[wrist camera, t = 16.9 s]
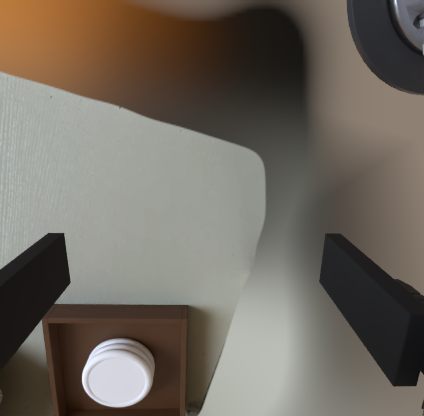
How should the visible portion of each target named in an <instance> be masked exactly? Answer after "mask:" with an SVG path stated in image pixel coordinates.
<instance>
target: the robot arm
mask: <svg viewBox="0 0 424 416" xmlns="http://www.w3.org/2000/svg"><path fill="white" fill-rule="evenodd" d="M387 7H388V13H389V17H390V20H391V23H392V26H393V28H394V30H395V32H396V34H397V35H398V37H399V38H400V40H401V41H402V42H403V43H404V44H405V45H406V46H407V47H408V48H409V49H411V50H412V51H414V52H415V53H417V54H419V55H421V56H424V0H387ZM319 282H320V283H321V285H322V286H323V288H324V289H325V290H326V292H327V293H328V295H329V296H330V297H331V299H332V300H333V302H334V303H335V304H336V306H337V307H338V309H339V310H340V312H341V313H342V314H343V316H344V317H345V319H346V320H347V321H348V323H349V324H350V326H351V327H352V329H353V330H354V331H355V333H356V334H357V336H358V337H359V338H360V340H361V341H362V343H363V344H364V346H365V347H366V348H367V350H368V351H369V353H370V354H371V355H372V357H373V358H374V360H375V361H376V362H377V364H378V365H379V367H380V368H381V370H382V371H383V372H384V374H385V375H386V377H387V378H388V379H389V381H390V382H391V384H392V385H393V386H416V385H417V381H418V377H419V373H420V371H421V372H422V373H423V374H424V296H423V295H421V294H420V293H419V292H418V291H417V290H415V289H414V288H413V287H412V286H410V285H408V284H406V283H404V282H402V281H401V280H399V279H393V278H392V277H391V276H390V275H388V274H387V273H386V272H385V271H383V270H382V269H381V268H380V267H379V266H378V265H377V264H375V263H374V262H373V261H372V260H371V259H370V258H368V257H367V256H366V255H365V254H364V253H362V252H361V251H360V250H359V249H358V248H357V247H355V246H354V245H353V244H352V243H350V241H348V240H347V239H346V238H345V237H344V236H343V235H341V234H326V235H325V242H324V250H323V257H322V265H321V273H320V281H319ZM70 283H71V282H70V275H69V267H68V260H67V252H66V245H65V237H64V233H48V234H46V235H45V236H44V237H43V238H41V239H40V240H39V241H37V242H36V243H35V244H33V245H32V246H31V247H29V248H28V249H27V250H25V251H24V252H23V253H22V254H20V255H19V256H18V257H16V258H15V259H14V260H12V261H11V262H10V263H8V264H7V265H6V266H4V267H3V268H2V269H1V270H0V371H1V370H2V369H3V368H4V366H5V365H6V364H7V363H8V361H9V360H10V359H11V357H12V356H13V355H14V354H15V352H16V351H17V350H18V349H19V347H20V346H21V345H22V344H23V342H24V341H25V340H26V338H27V337H28V336H29V335H30V333H31V332H32V331H33V330H34V328H35V327H36V326H37V325H38V323H39V322H40V321H41V319H42V318H43V317H44V316H45V314H46V313H47V312H48V311H49V309H50V308H51V307H52V306H53V304H54V303H55V302H56V300H57V299H58V298H59V297H60V295H61V294H62V293H63V292H64V290H65V289H66V288H67V287H68V285H69V284H70ZM422 409H424V401H423V404H422ZM423 416H424V410H423Z"/></svg>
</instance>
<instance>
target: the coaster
mask: <svg viewBox="0 0 424 416" xmlns="http://www.w3.org/2000/svg"><path fill="white" fill-rule="evenodd" d="M154 370H155V363H154V359H153V356H152V354H151V353H150V351H149V350H148V349H147V348H146V347H145V346H144V345H142V344H141V343H139V342H137V341H134V340H131V339H127V338H114V339H109V340H107V341H104V342H102V343H101V344H99V345H98V346H97V347H96V348H95V349H94V350H93V351H92V352H91V354H90V356H89V358H88V360H87V363H86V365H85V367H84V369H83V373H82V384H83V387H84V389H85V391H86V393H87V394H88V395H89V396H90V397H91V398H92V399H94V400H95V401H96V402H98V403H100V404H103V405H105V406H109V407H126V406H130V405H133V404H136V403H138V402H139V401H141V400H142V399H143V398H144V397H145V396H146V395H147V394H148V392H149V391H150V389H151V386H152V383H153V376H154Z"/></svg>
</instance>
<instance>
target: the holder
mask: <svg viewBox="0 0 424 416" xmlns="http://www.w3.org/2000/svg"><path fill="white" fill-rule="evenodd" d="M42 325H43V333H44V341H45V349H46V357H47V364H48V372H49V380H50V388H51V396H52V404H53V411H54V416H185V400H186V363H187V326H188V305H71V304H53V306H52V307H51V308H50V309H49V311H48V312H47V313H46V314H45V316H44V317H43V318H42ZM114 338H127V339H131V340H134V341H137V342H139V343H141V344H142V345H144V346H145V347H146V348H147V349H148V350H149V351H150V353H151V354H152V356H153V359H154V363H155V370H154V376H153V383H152V386H151V389H150V391H149V392H148V394H147V395H146V396H145V397H144V398H143V399H142V400H141V401H139V402H138V403H136V404H133V405H130V406H126V407H109V406H105V405H103V404H100V403H98V402H96V401H95V400H94V399H92V398H91V397H90V396H89V395H88V394H87V393H86V391H85V389H84V387H83V384H82V373H83V369H84V367H85V365H86V363H87V360H88V358H89V356H90V354H91V352H92V351H93V350H94V349H95V348H96V347H97V346H98V345H99V344H101V343H102V342H104V341H107V340H109V339H114Z"/></svg>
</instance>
